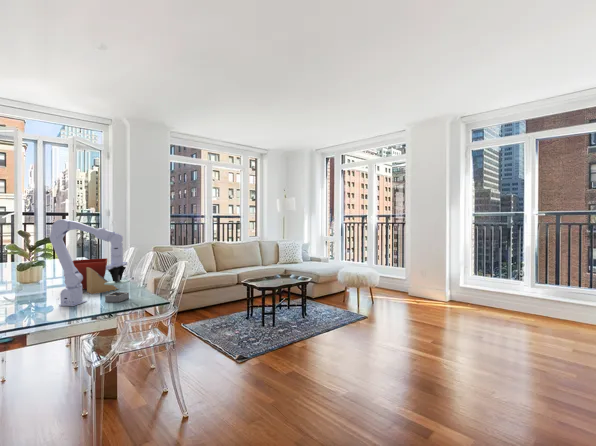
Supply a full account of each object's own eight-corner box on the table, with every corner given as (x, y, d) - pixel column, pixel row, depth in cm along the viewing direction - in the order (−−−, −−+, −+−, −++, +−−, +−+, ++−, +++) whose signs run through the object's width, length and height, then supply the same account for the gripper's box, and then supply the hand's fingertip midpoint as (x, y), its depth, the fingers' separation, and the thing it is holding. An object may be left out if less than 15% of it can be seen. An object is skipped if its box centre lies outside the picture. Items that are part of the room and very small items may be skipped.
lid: (119, 285, 174) (119, 276, 174) (104, 285, 176) (104, 276, 175) (129, 282, 183) (129, 274, 183) (115, 282, 184) (115, 273, 184)
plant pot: (73, 285, 213) (73, 259, 213) (107, 282, 222) (107, 258, 222) (69, 292, 196) (69, 263, 196) (106, 288, 205) (106, 261, 205)
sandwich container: (119, 289, 203) (119, 265, 203) (91, 294, 192) (91, 268, 191) (114, 287, 209) (114, 264, 208) (86, 292, 197) (86, 267, 197)
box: (119, 302, 174) (119, 296, 174) (105, 302, 175) (105, 295, 175) (128, 298, 182) (128, 292, 182) (115, 298, 183) (115, 291, 183)
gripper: (114, 257, 171) (114, 283, 171) (132, 254, 185) (132, 278, 186) (102, 257, 172) (102, 283, 172) (120, 253, 186) (120, 277, 187)
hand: (117, 280), depth 179 cm, fingers closed on lid, 3 cm apart
